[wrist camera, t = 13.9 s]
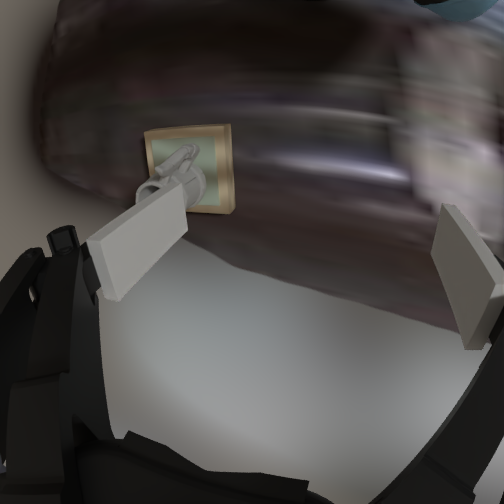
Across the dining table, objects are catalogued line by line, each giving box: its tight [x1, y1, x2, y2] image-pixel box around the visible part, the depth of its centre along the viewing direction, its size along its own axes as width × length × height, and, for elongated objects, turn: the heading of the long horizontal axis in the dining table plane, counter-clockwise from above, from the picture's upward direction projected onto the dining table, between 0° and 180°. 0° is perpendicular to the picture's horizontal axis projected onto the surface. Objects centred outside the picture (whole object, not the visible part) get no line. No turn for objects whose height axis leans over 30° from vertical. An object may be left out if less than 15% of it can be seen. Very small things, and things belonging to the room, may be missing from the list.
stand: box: [144, 124, 236, 214], centre depth 48 cm, size 14×14×3 cm
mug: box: [136, 143, 206, 211], centre depth 41 cm, size 8×12×12 cm, turn 153°
